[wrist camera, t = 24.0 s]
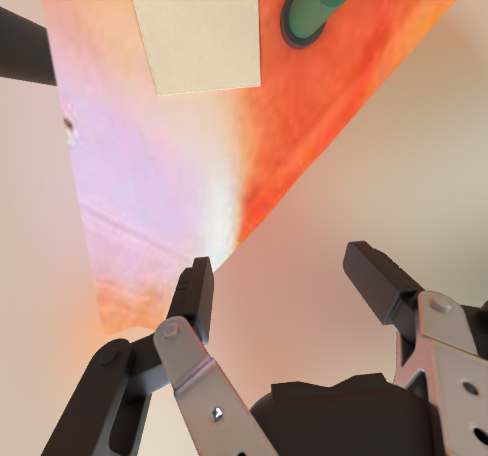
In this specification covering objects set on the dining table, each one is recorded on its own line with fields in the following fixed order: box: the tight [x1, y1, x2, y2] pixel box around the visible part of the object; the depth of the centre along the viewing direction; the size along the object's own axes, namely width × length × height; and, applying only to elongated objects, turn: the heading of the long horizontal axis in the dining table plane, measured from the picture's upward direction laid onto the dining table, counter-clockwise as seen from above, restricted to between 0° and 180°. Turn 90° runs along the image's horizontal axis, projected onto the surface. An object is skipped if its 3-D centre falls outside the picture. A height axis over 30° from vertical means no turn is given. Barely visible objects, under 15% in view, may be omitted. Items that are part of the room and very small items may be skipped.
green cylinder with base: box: [280, 0, 346, 49], centre depth 22 cm, size 6×6×10 cm
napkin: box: [133, 0, 261, 96], centre depth 26 cm, size 16×14×1 cm
